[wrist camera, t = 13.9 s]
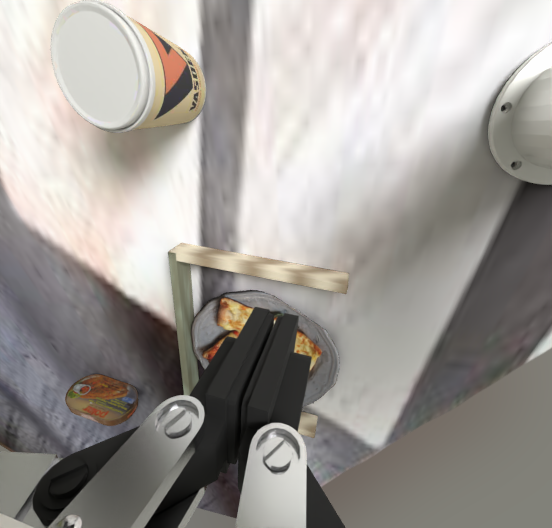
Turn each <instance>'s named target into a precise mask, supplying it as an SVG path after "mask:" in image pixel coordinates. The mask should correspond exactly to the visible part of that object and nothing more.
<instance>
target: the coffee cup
mask: <svg viewBox="0 0 552 528" xmlns="http://www.w3.org/2000/svg"><path fill="white" fill-rule="evenodd" d="M51 58H52V64H53V69H54V72H55V76H56V79H57V81H58V84H59V86H60V88H61V90H62V92H63V94H64V96H65V97H66V99H67V101H68V102H69V103H70V105H71V106H72V107H73V109H74V110H75V111H76V112H77V113H78V114H79V115H80V116H81V117H82V118H84V119H85V120H86V121H88V122H89V123H91V124H93V125H94V126H96V127H98V128H100V129H102V130H105V131H108V132H114V133H123V132H128V131H131V130H136V129H145V128H153V127H161V126H169V125H176V124H182V123H187V122H190V121H192V120H193V119H195V118H196V117H197V116H198V115H199V113H200V112H201V110H202V108H203V106H204V103H205V98H206V84H205V79H204V76H203V73H202V70H201V68H200V66H199V65H198V63H197V62H196V60H195V59H194V58H193V57H192V56H191V55H190V54H189V53H187V52H186V51H184V50H183V49H182V48H180V47H178V46H177V45H175V44H173V43H172V42H170V41H168V40H167V39H165V38H163V37H162V36H160V35H159V34H157V33H155V32H153V31H152V30H150V29H148V28H147V27H145V26H143V25H142V24H140V23H138V22H137V21H135V20H133V19H131V18H130V17H128V16H126V15H125V14H124V13H123V12H121V11H120V10H119V9H117V8H115V7H114V6H112V5H110V4H108V3H106V2H103V1H100V0H82V1H79V2H75V3H72V4H70V5H69V6H67V7H66V8H65V9H64V10H63V11H62V12H61V13H60V14H59V16H58V18H57V20H56V22H55V24H54V27H53V31H52V35H51Z"/></svg>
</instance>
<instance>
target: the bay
mask: <svg viewBox="0 0 552 528" xmlns="http://www.w3.org/2000/svg"><path fill="white" fill-rule="evenodd" d="M168 255H169V264H170V273H171V282H172V291H173V300H174V309H175V318H176V326H177V335H178V344H179V353H180V362H181V371H182V380H183V389H184V395H188V396H189V395H190V394H191V392H192V390H193V389H194V387H195V386H196V384H197V382H198V381H199V376H198V363H197V357H196V355H195V354H194V352H193V344H192V337H191V326H192V323H193V321H194V310H193V296H192V283H191V270H190V264H195V265H200V266H206V267H211V268H216V269H221V270H226V271H231V272H236V273H241V274H246V275H252V276H257V277H262V278H267V279H272V280H277V281H282V282H287V283H292V284H297V285H303V286H308V287H313V288H318V289H323V290H328V291H333V292H338V293H343V294H346V293H347V289H348V279H349V273H345V272H339V271H334V270H328V269H323V268H317V267H312V266H306V265H301V264H295V263H290V262H284V261H279V260H273V259H268V258H262V257H257V256H251V255H246V254H240V253H235V252H229V251H224V250H218V249H213V248H207V247H202V246H196V245H191V244H185V243H181V244H179V245H178V246H176V247H175V248H173V249H172V250H170V251H168ZM317 417H318V416H316V415H313V414H309V413H305V412H302V413H301V418H300V423H299V428H298V433H299V434H302V435H305V436H309V437H312V438H314V437H315V431H316V424H317Z"/></svg>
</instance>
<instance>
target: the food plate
mask: <svg viewBox="0 0 552 528" xmlns="http://www.w3.org/2000/svg"><path fill="white" fill-rule="evenodd" d="M275 297H276V296H274V295H270V294H268V293H265V292H262V291H261V292H260V291H257V290H256V291H255V290H250V291H249V290H247V291H240V292H239V291H238V292H229V293H227V292H226V293H223V294H222V295H221V296H219V297H216V298H213V299H212V300H210V301H209V302H207V304H206V305H205V306H204V307H203V308H202V309H201V310H200V312H199V313H198V314H197V315H196V317H195V319H194V321H193V323H192V326H191V337H192V344H193V352H194V354H195V355H196V357H197V359H199V361H200V362H201V365H202V367H203V368H204V369H206V368H207V366H208V365H209V363H210V361H211V360H212V358H213V357H214V355H215V353H216V352H217V350H218V349H219V347H220V345H221V344H222V342H223V341H224V339H225V338H226V337H227V336H229V337H234V338H237V337H238V336H239V334H240V332H241V330H242V329H243V327H244V325H245V323H246V321H247V320H248V318H249V316H250V314H251V313H252V311H253V309H254V308H255V307H260V308H265V309H269V310H270V314H274V324H275V321H276V319H277V317H278V315H279V316H283V315H284V313H288V314H292V315H297V316H299V321H298V328H297V335H296V343H295V350H294V352H295V353H299V354H303V355H307V356H311V357H312V359H311V365H310V371H309V376H308V382H307V387H306V392H305V397H304V402H303V406H306V405H308V404H311V403H314V401H317V400H318V399H320V398H321V397H322V396H323V395H324V394H325V393H326V392H327V391H328V390H329V389H330V388H332V387H333V386H334V385H335V383H336V380H337V373H338V372H339V357H338V351H337V349H336V346H335V345H334V343H333V341H332V339H331V338H330V336H329V335H328V332H327V331H326V330H325V329H324V328H322V327H321V326H319V325H318V324H316V323H315V322H313V321H312V320H310V318H307V317H306V316H305V315H303V314H301V313H300V312H298V311H297V310H296V309H293V308H292V307H291V306H289V305H288V304H286V303H284V302H283V301H281V300H280V299H278V298H277V297H276V298H275Z"/></svg>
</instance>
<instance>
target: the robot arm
mask: <svg viewBox="0 0 552 528" xmlns="http://www.w3.org/2000/svg"><path fill="white" fill-rule="evenodd" d="M503 105H505V109H504V110H503V111H501V107H502V106H503ZM488 141H489V146H490V150H491V152H492V155H493V157H494V159H495V161H496V162H497V163H498V164H499V165H500V167H501V168H502V169H503V170H505V171H506V172H507V173H509V174H510V175H511V176H514V177H516V178H518V179H521V180H523V181H527V182H530V183H534V184H543V185H552V42H551V43H549V44H547V45H546V46H545V47H543V48H542V49H540V50H539V51H537V52H536V53H535V54H533V55H532V56H531V57H530V58H529V59H528V60H526V61H525V62H524V63H523V64H522V65H521V66H520V67H519V68H518V69H517V70H516V71H515V73H514V74H513V75H512V76H511V77H510V79H509V80H508V81H507V82H506V84H505V86H504V87H503V89H502V90H501V92H500V94H499V95H498V97H497V99H496V102H495V104H494V107H493V109H492V111H491V116H490V120H489V125H488ZM513 162H515V164H514V166H512V167H511V164H512V163H513ZM298 321H299V316H297V315H292V314H288V313H284V315H283V316H279V315H278V317H277V319H276V321H275V324H274V314H270V310H269V309H265V308H260V307H255V308H254V309H253V311H252V313H251V314H250V316H249V318H248V320H247V321H246V323H245V325H244V327H243V329H242V330H241V332H240V334H239V336H238V337H237V338H234V337H229V336H227V337H226V338H225V339H224V341H223V342H222V344H221V345H220V347H219V349H218V350H217V352H216V353H215V355H214V357H213V358H212V360H211V361H210V363H209V365H208V366H207V368H206V369H205V371H204V373H203V374H202V376H201V377H200V379H199V381H198V382H197V384H196V386H195V387H194V389H193V390H192V392H191V394H190V395H189V396H188V395H179V396H175V397H172V398H170V399H168V400H166V401H164V402H163V403H161V404H160V405H159V406H158V407H157V408H156V409H155V410H154V411H153V412H152V413H151V414H150V416H149V417H148V418H147V419H146V420H145V421H144V422H143V423H142V424H141V425H140V426H139V427H136V428H134V429H132V430H129V431H127V432H124V433H122V434H119V435H117V436H115V437H112V438H110V439H107V440H105V441H103V442H100V443H98V444H95V445H93V446H90V447H88V448H86V449H83V450H81V451H78V452H76V453H73V454H71V455H69V456H67V457H66V458H58V456H57V454H38V453H19V452H1V451H0V528H185V527H186V525H187V523H188V521H189V520H190V518H191V516H192V514H193V513H194V511H195V509H196V507H197V506H198V504H199V502H200V500H201V498H202V497H203V495H204V493H205V491H206V488H207V486H208V485H209V484H210V483H212V482H214V481H216V480H217V479H218V476H219V474H220V472H223V473H227V470H228V468H229V465H230V463H232V464H236V462H237V460H238V488H239V491H240V493H241V498H240V504H239V509H238V515H237V520H236V526H235V528H345V526H344V524H343V523H342V521H341V520H340V518H339V516H338V515H337V513H336V511H335V510H334V508H333V507H332V505H331V503H330V502H329V500H328V498H327V497H326V495H325V493H324V492H323V490H322V488H321V487H320V485H319V484H318V482H317V480H316V479H315V477H314V475H313V474H312V472H311V470H310V469H309V467H308V465H307V453H306V446H305V443H304V441H303V439H302V437H301V436H300V434H299V433H298V428H299V423H300V418H301V413H302V408H303V402H304V397H305V392H306V387H307V382H308V376H309V371H310V365H311V359H312V357H311V356H307V355H303V354H299V353H295V352H294V350H295V343H296V335H297V328H298Z"/></svg>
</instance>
